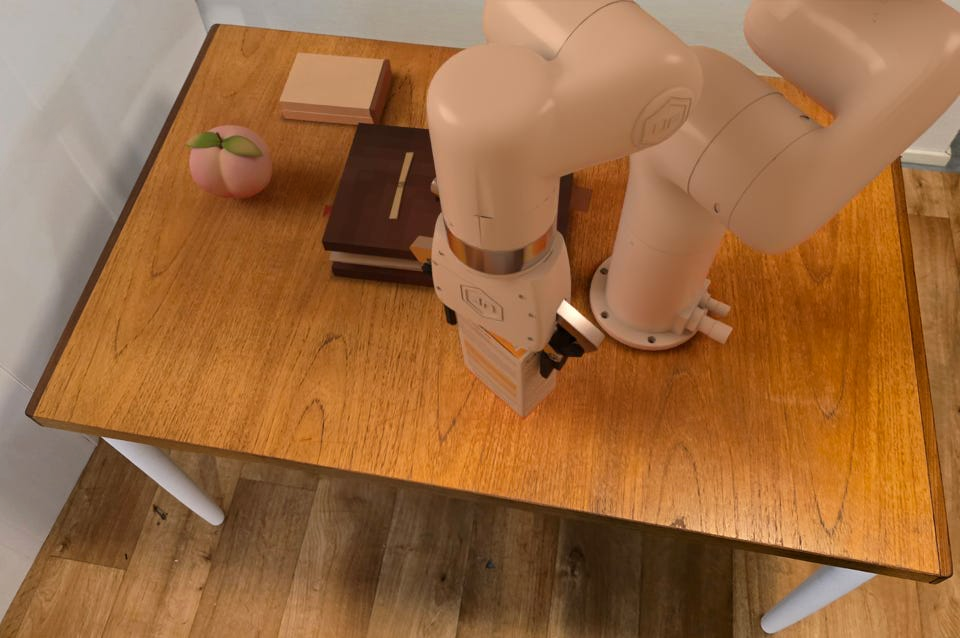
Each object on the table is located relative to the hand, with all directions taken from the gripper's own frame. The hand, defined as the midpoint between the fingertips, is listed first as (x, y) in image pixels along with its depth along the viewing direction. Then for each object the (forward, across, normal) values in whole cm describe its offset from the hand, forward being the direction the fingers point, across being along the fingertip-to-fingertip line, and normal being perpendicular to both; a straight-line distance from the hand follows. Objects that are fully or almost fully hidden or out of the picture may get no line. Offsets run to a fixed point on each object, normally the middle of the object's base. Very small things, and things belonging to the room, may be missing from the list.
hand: (505, 337), depth 64 cm
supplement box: (+9, 0, 0) cm, 9 cm away
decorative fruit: (+13, -41, +6) cm, 44 cm away
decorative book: (+13, -16, +15) cm, 26 cm away
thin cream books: (+13, -41, +24) cm, 49 cm away
